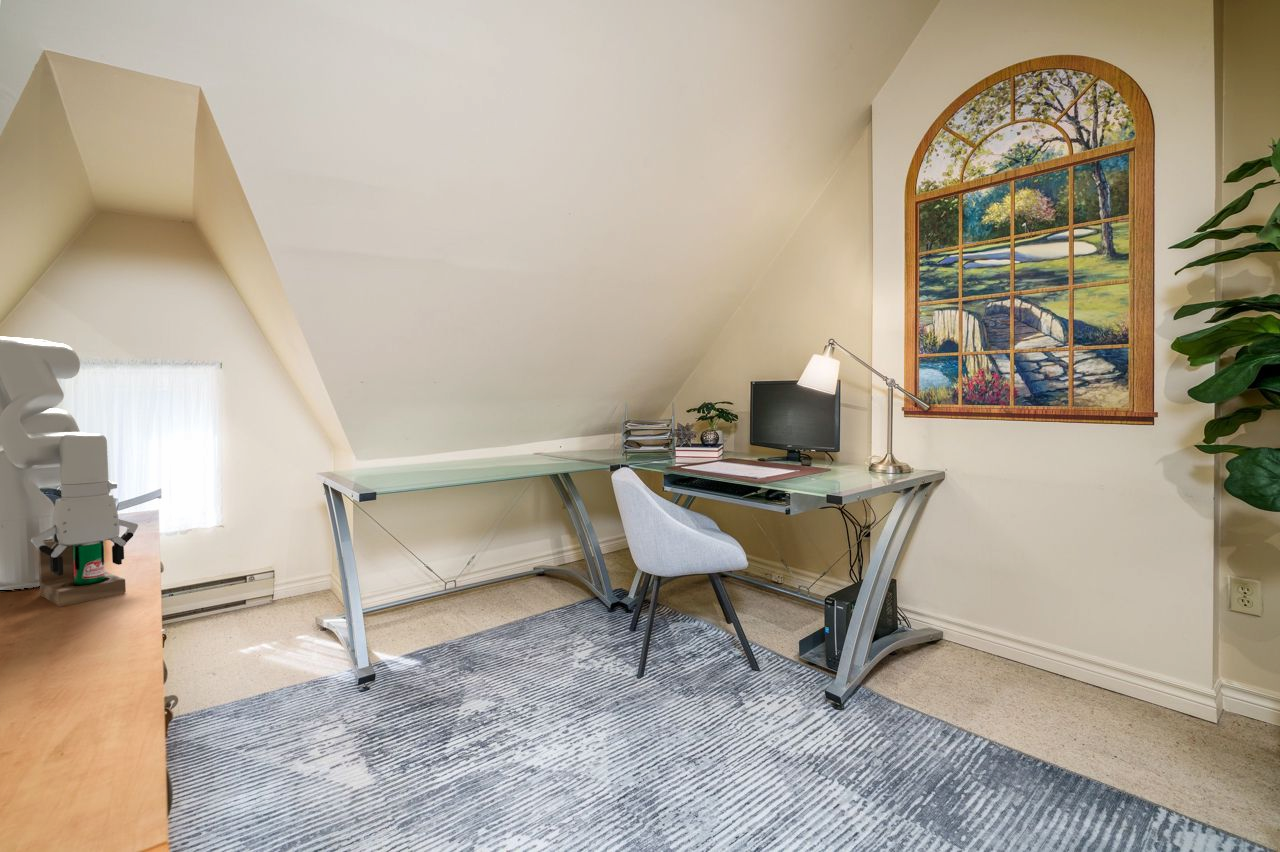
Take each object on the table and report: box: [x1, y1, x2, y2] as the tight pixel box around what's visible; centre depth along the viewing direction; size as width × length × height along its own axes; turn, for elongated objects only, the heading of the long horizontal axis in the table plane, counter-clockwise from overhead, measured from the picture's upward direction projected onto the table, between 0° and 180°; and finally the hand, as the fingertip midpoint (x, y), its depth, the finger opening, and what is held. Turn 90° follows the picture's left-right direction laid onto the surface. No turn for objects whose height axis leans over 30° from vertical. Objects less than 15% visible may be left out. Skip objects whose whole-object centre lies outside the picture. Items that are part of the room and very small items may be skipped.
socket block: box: [38, 539, 127, 608], centre depth 129 cm, size 14×10×12 cm
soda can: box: [72, 541, 106, 586], centre depth 128 cm, size 5×5×12 cm
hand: (88, 568), depth 128 cm, fingers open, 9 cm apart
